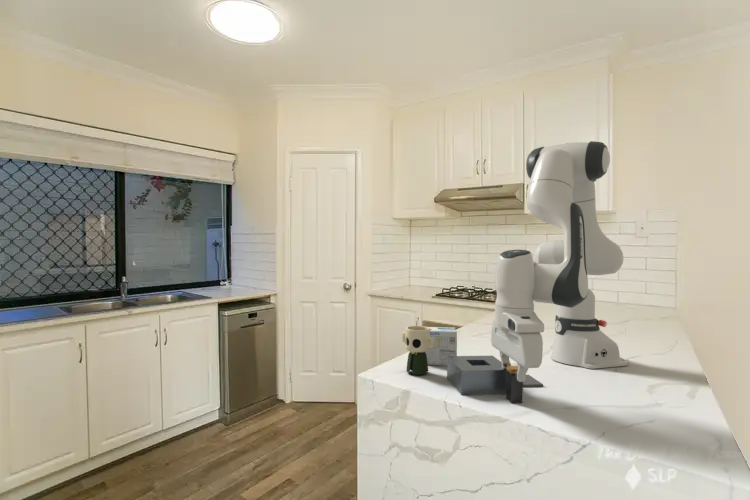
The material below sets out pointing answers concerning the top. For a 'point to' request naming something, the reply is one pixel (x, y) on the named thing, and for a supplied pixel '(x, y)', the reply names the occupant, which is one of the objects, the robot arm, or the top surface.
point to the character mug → (417, 348)
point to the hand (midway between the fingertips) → (513, 375)
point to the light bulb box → (442, 345)
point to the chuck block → (476, 374)
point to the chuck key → (513, 386)
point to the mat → (531, 382)
